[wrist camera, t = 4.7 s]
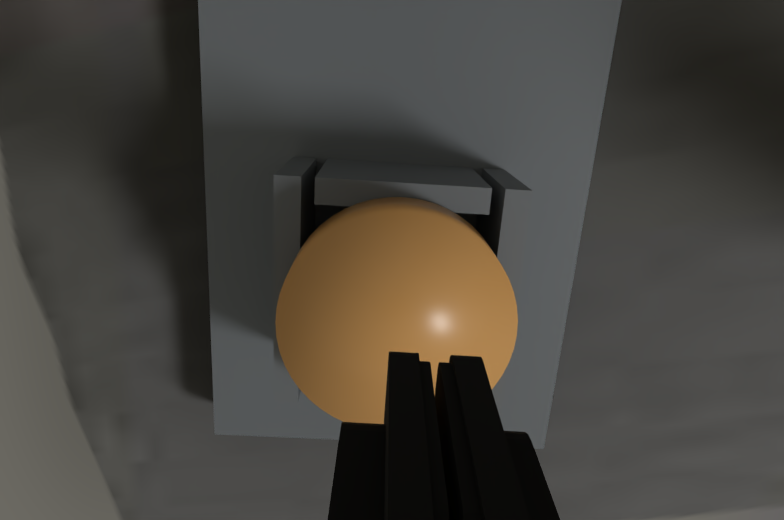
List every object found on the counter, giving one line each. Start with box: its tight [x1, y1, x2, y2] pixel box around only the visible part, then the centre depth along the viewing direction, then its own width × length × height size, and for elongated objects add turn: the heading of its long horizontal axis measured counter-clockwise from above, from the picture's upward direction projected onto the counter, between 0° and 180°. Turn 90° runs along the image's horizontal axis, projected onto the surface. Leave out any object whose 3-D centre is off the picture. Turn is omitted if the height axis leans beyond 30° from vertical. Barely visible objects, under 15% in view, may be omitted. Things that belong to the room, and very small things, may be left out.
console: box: [198, 0, 622, 449], centre depth 18 cm, size 32×14×6 cm, turn 176°
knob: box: [275, 197, 518, 424], centre depth 19 cm, size 7×7×6 cm
